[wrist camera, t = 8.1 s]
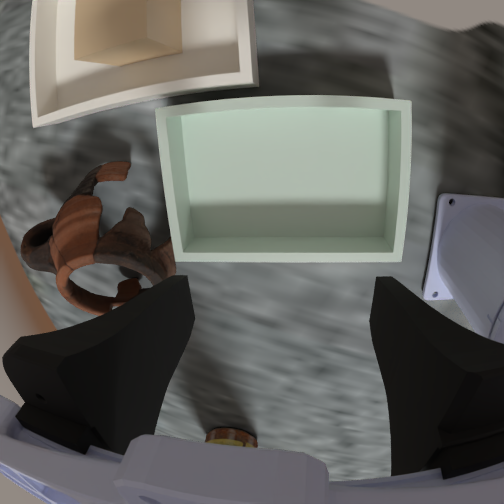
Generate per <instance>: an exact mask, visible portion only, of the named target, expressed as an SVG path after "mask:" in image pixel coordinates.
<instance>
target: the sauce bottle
mask: <svg viewBox="0 0 504 504" xmlns="http://www.w3.org/2000/svg"><path fill="white" fill-rule="evenodd" d="M205 442H206V443H214V444H222V445H230V446H240V447H252V448H257V447H258V443H257V440H256V439H255V438H254V437H253V436H251V435H250V434H248V433H247V432H245V431H242V430H239V429H234V428H216V429H214V430H212V431H211V432H209V433H208V434H207V436H206V440H205Z"/></svg>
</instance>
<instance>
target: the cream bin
mask: <svg viewBox="0 0 504 504" xmlns="http://www.w3.org/2000/svg"><path fill="white" fill-rule="evenodd" d="M75 5H76V0H33V1H32V12H31V25H30V51H29V70H30V97H31V111H32V122H33V128H35V127H40V126H46V125H51V124H57V123H61V122H64V121H68V120H71V119H75V118H78V117H82V116H85V115H89V114H93V113H96V112H100V111H104V110H108V109H112V108H117V107H121V106H126V105H130V104H135V103H140V102H145V101H150V100H155V99H161V98H167V97H173V96H179V95H186V94H193V93H200V92H209V91H217V90H227V89H238V88H251V87H259V74H258V59H257V45H256V31H255V18H254V4H253V0H181V27H182V53H179V54H174V55H168V56H163V57H158V58H154V59H149V60H145V61H140V62H136V63H132V64H128V65H124V66H114V65H107V64H101V63H94V62H86V61H77V60H74V26H75Z"/></svg>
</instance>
